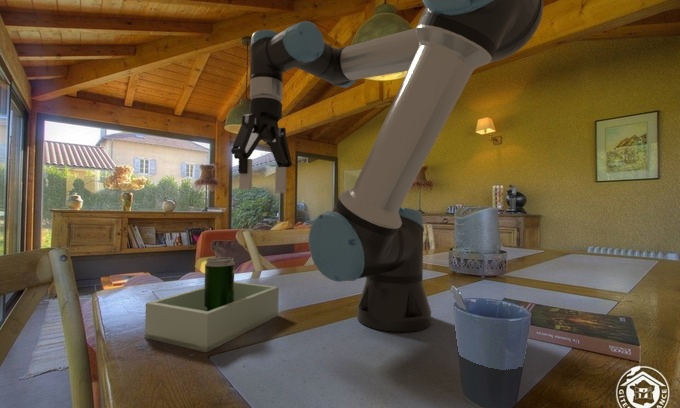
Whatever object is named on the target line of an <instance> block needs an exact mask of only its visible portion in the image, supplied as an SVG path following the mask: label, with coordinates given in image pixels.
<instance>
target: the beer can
mask: <svg viewBox="0 0 680 408" xmlns="http://www.w3.org/2000/svg"><path fill="white" fill-rule="evenodd" d="M235 265H236V264H235V261H234V258H233V257H230V256H229V257H228V256H218V257H217V256H216V257H208V258H207V259H206V263H205V265H204V287H205V290H204V311H210V310H213V309H215V308H218V307H221V306H224V305H226V304H229V303H232V302H234V282H235Z"/></svg>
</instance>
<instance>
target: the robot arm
mask: <svg viewBox="0 0 680 408" xmlns="http://www.w3.org/2000/svg"><path fill="white" fill-rule="evenodd" d="M422 3H423V4H424V7H425V8H424V10H423V11H422V14H421V17H420V18H419V21H418V23H417V25H416V27H415V28H411V29H407V30H404V31H400V32H396V33H391V34H389V35H385V36H382V37H381V36H380V37H377V38H373V39H370V40H367V41H366V40H365V41H362V42H358V43H355V44H352V45H347V46H343V47H339V48H336V47H334V46H331V45H330V44H328V43H326V42H325V40H324V37H323V34H322V31H321V30H319V29H318V26H317V25H316V24H315V23H314V22H312V21H309V20H303V21H300V22H297V23H295V24H293V25H290V26H288V27H287V28H286V29H284V30H283V31H281V32H279V33H278V32H277V31H274V30H271V29H263V30H261V29H259V30H257V31H255V32H253V34H252V36H251V39H250V48H249V54H250V55H249V57H250V58H249V60H250V61H249V63H250V64H249V70H250V71H249V82H250V83H249V84H250V86H249V89H250V90H249V98H250V100H249V109H248V110H249V111H248V112H249V113H248V114H243V115H242V116H241V118H242V119H241V125H240V127H239V129H238V132H237V134H236V137H235V139H234V142H233V145H232V147H231V150H230V153H231V154H232V155H233V157H234V159H236V160H238V174H239V181H238V182H239V183H238V184H239V185H238V186H239V189H238V190H240V191H241V190H246V191H248V190H253V159H252V158H250V157H251V155H252V154H253V152H254V151H255V149H256V148H257V146H258V144H259V143H260V142H261V141H262V142H264V143H265V144H266V145H268V146H269V148H270V150H271V153H272V155H273V158H274V161H275V162H276V165H277V166H276V167H275V178H274V180H275V182H274V183H275V184H274V185H275V187H274V191H275V192H274V193H276V194H286V193H287V173H288V172H287V170H288V169H287V168H291V167H292V164H293V161H292V157H291V153H290V149H289V144H288V139H287V133H286V127H279V124H278V123H279V121H280V120H282V119H283V103H282V102H283V99H284V98H283V95H284V93H283V92H284V91H283V90H284V88H283V83H284V82H283V81H284V79H283V75H284V72H288V71H290V70H293V69H299V70H301V71H303V72H306V73H307V74H310V75H312V76H314V77H317V78H319V79H321V80H323V81H326V82H327V83H330V84H331V85H332V86H336V87H340V88H349V87H351V86H352V85H353V84H355V83H356V81H357V80H361V79H362V80H363V79H366V78H367V79H368V78H373V77H378V76H384V75H391V74H398V73H403V72H406V74H405V76H404V78H403V80H402V82H401V85H400V86H399V89H398V91H397V93H396V95H395V98H394V99H393V101H392V104H391V106H390V108H389V111H388V112H387V114H386V116H385V119H384V121H383V123H382V125H381V127H380V129H379V132H378V134H377V136H376V139H375V140H374V142H373V145H372V147H371V149H370V151H369V153H368V156H367V157H366V160H365V162H364V164H363V166H362V168H361V170H360V172H359V174H358V177H357V179H356V180H355V183H354V185H353V187H352V188H351V189H349V190H346V191H342V192H341V193H340V195H339V197H338V199H337V200H336V203H335V206H334V207H333V209H332V211H330V210H328V211H325V212H324V213H321V214H319V215H318V216H317V217H316V218H315V219H314V220H313V222H312V223H311V226H310V228H309V234H308V250H309V251H310V257H311V258H312V261H313V264H314V265H315V267H316V269H317V270H318V271H319V272H320V274H322V276H324V277H326V278H327V279H329V280H330V281H333V282H353V281H357V280H359V279H363V278H365V284H364V285H363V289H362V292H361V295H360V297H359V301H358V304H357V307H356V308H357V309H356V310H357V311H356V318H357V320H358V321H359V323H361V324H362V325H364V326H367V327H369V328H372V329H374V330H380V331H383V332H384V331H385V332H392V333H408V332H417V331H420V330H425V329H427V328H429V327H430V325H431V324H432V311H431V307H430V303H429V300H428V297H427V295H426V290H425V287H424V284H423V283H424V282H423V280H424V279H423V273H424V266H423V265H424V232H425V231H424V230H425V227H424V220H423V219H424V217H423V214H422V213H421V212H420V211H418V210H417V209H414V208H410V207H402V205H403V203H404V202H405V199H406V198H407V196H408V194H409V193H410V190H411V188H413V184H414V183H415V181H416V179H417V177H418V176H419V174H420V171H421V170H422V168H423V166H424V164H425V162H426V160H427V158H428V157H429V154H430V153H431V151H432V149H433V147H434V145H435V143H436V142H437V140H438V138H439V136H440V134H441V132H442V130H443V128H444V126H445V125H446V123H447V121H448V120H449V117H450V115H451V113H452V111H453V110H454V108H455V106H456V105H457V102H458V100H459V98H460V97H461V94H462V93H463V91H464V89H465V87H466V85H467V84H468V82H469V80H470V78H471V76H472V74H473V72H474V71H475V70H477V68H480V67H483V66H486V65H488V64H491V63H494V62H495V63H496V62H499V61H501V60H504V59H507V58H508V57H510V56H512V55H514V54H516V53H517V52H518V51H520V50H521V49H522V48H524V46H526V44H528V42H529V41H531V39H532V38H533V36H534V35H535V33H536V32H537V30H538V28H539V26H540V24H541V20H542V17H543V13H544V0H422Z"/></svg>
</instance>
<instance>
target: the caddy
mask: <svg viewBox="0 0 680 408" xmlns="http://www.w3.org/2000/svg"><path fill="white" fill-rule="evenodd" d="M204 290H205V286H203V287H200V288H196V289H192V290H189V291H185V292H181V293H177V294H175V295H170V296H166V297H163V298H159V299H157V300H152V301H149V302H146V303H145V315H144V316H145V320H144V322H145V323H144V326H145V327H144V328H145V329H144V338H145V339H148V340H152V341H157V342H162V343H163V344H169V345H174V346H178V347H182V348H186V349H189V350H195V351H199V352H203V353H209V352H211V351H213V350H214V349H216V348H218V347H220V346H222V345H224V344H227V343H228V342H229V341H232V340H234V339H236V338H238V337H239V336H241V335H243V334H245V333H247V332H249V331H251V330H253V329H255V328H257V327H259V326H261V325H264V324H265V323H266V322H268V321H270V320H272V319H274V318H276V317H278V316H279V293H280V287H279V286H273V285H265V284H256V283H247V282H241V281H234V302H232V303H229V304H226V305H224V306H221V307H218V308H215V309H213V310H210V311H204Z"/></svg>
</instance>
